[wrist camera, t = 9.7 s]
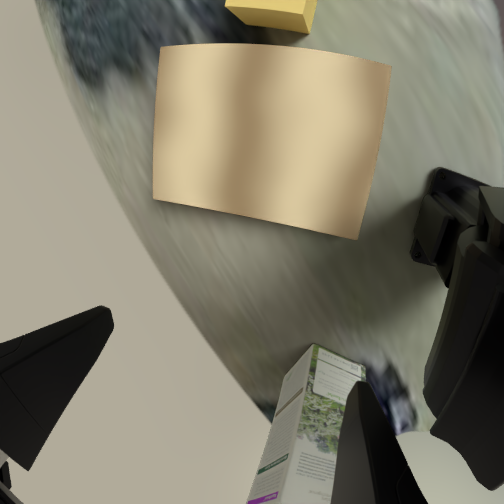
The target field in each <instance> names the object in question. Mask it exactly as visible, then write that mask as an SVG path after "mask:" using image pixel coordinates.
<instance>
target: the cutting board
mask: <svg viewBox="0 0 504 504" xmlns="http://www.w3.org/2000/svg"><path fill="white" fill-rule="evenodd" d="M391 67H392V66H390V65H386V64H382V63H378V62H374V61H370V60H366V59H362V58H357V57H353V56H348V55H343V54H337V53H332V52H326V51H320V50H313V49H305V48H297V47H288V46H277V45H262V44H232V43H222V44H192V45H177V46H166V47H161V50H160V58H159V68H158V78H157V89H156V103H155V119H154V142H153V199H157V200H162V201H168V202H174V203H179V204H185V205H190V206H196V207H201V208H206V209H211V210H217V211H222V212H227V213H232V214H237V215H242V216H247V217H252V218H257V219H262V220H267V221H271V222H276V223H281V224H286V225H290V226H295V227H300V228H304V229H309V230H313V231H318V232H322V233H327V234H331V235H335V236H340V237H344V238H348V239H353V240H357V239H358V235H359V231H360V228H361V224H362V220H363V216H364V212H365V209H366V205H367V200H368V196H369V192H370V188H371V184H372V179H373V175H374V170H375V165H376V161H377V156H378V151H379V146H380V140H381V135H382V129H383V124H384V118H385V112H386V105H387V98H388V91H389V84H390V76H391Z"/></svg>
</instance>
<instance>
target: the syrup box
mask: <svg viewBox="0 0 504 504" xmlns="http://www.w3.org/2000/svg"><path fill="white" fill-rule="evenodd" d="M356 381H365V366H363V365H361V364H359V363H357V362H354V361H352V360H350V359H347V358H345V357H343V356H341V355H338V354H336V353H334V352H332V351H329V350H327V349H325V348H323V347H321V346H319V345H316V344H312V345H311V347H310V348H309V349H308V350H307V351H306V352H305V353H304V354H303V356H302V357H301V358H300V359H299V360H298V361H297V363H296V364H295V365H294V366H293V367H292V368H291V369H290V370H289V372H288V373H287V374H286V375H285V376H284V379H283V383H282V387H281V392H280V397H279V401H278V404H277V408H276V412H275V415H274V419H273V422H272V426H271V429H270V432H269V436H268V439H267V442H266V446H265V449H264V452H263V455H262V458H261V461H260V464H259V467H258V470H257V473H256V476H255V479H254V482H253V485H252V487H251V490H250V494H249V497H248V499H247V502H246V504H330V503H331V496H332V490H333V482H334V475H335V467H336V458H337V449H338V440H339V435H340V430H341V425H342V420H343V415H344V410H345V405H346V400H347V396H348V394H349V392H350V391H351V389H352V387H353V386H354V384H355V382H356Z"/></svg>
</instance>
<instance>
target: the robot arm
mask: <svg viewBox="0 0 504 504" xmlns="http://www.w3.org/2000/svg"><path fill="white" fill-rule="evenodd" d="M441 172H443V173H444V177H443V178H442V179H440V178H439V174H440V173H441ZM414 234H415V239H414V242H413V245H412V248H411V251H410V255H411V258H412V259H413V261H415V262H419V263H423V264H427V265H431V266H435V267H436V269H437V271H438V272H439V274H440V276H441V278H442V280H443V282H444V284H445V286H446V287H447V288H449V289H448V293H447V297H446V301H445V305H444V309H443V313H442V316H441V320H440V323H439V327H438V330H437V333H436V337H435V340H434V343H433V346H432V349H431V352H430V355H429V357H428V360H427V363H426V366H425V373H424V388H423V395H424V398H425V401H426V404H427V405H428V407H429V408H430V410H431V412H432V413H433V415H434V416H435V417H436V418H437V420H436V421H435V423H434V425H433V426H432V428H431V429H430V434H431V435H433V436H435V437H437V438H439V439H441V440H443V441H445V442H447V443H449V444H450V445H451V446H452V447H453V448H455V449H456V450H457V451H458V452H459V453H460V454H461V455H462V457H463V458H464V460H465V461H466V462H467V464H468V466H469V468H470V469H471V471H472V473H473V475H474V476H475V478H476V480H477V481H478V482H479V483H480V484H482V485H483V486H484V487H486V488H487V489H488V490H491V491H493V490H495V489H497V488H498V487H500V486H501V485H502V484H504V188H500V187H492V186H490V185H487V184H485V183H482V182H480V181H478V180H475V179H473V178H470V177H468V176H465V175H462V174H460V173H457V172H454V171H452V170H449V169H446V168H443V167H438V168H437V169H435V171H434V175H433V179H432V182H431V186H430V190H429V194H427V195H426V196H425V197H424V199H423V202H422V206H421V209H420V212H419V216H418V219H417V222H416V225H415V228H414ZM416 252H420V254H419V255H418V256H415V253H416ZM113 329H114V322H113V318H112V313H111V310H110V309H109V308H107V307H105V306H97V307H95V308H92V309H90V310H87V311H84V312H82V313H79V314H77V315H74V316H72V317H69V318H66V319H64V320H61V321H59V322H56V323H53V324H51V325H48V326H46V327H43V328H40V329H38V330H35V331H33V332H30V333H28V334H25V335H22V336H20V337H17V338H14V339H12V340H9V341H6V342H3V343H0V504H23V503H22V502H21V501H20V500H19V499H18V498H17V497H16V496H15V495H14V494H13V493H12V492H11V491H10V488H11V480H10V474H9V466H8V462H7V461H6V460H7V458H8V457H10V458H11V459H13V460H14V461H15V462H16V463H18V464H19V465H20V466H22V467H23V468H24V469H26V470H27V471H29V470H30V468H31V467H32V465H33V463H34V461H35V459H36V457H37V456H38V454H39V452H40V450H41V448H42V447H43V445H44V443H45V441H46V440H47V438H48V437H49V435H50V433H51V431H52V429H53V428H54V426H55V425H56V423H57V421H58V419H59V418H60V416H61V415H62V413H63V411H64V410H65V408H66V407H67V405H68V403H69V402H70V400H71V399H72V397H73V395H74V394H75V392H76V391H77V389H78V388H79V386H80V384H81V383H82V382H83V380H84V378H85V377H86V376H87V374H88V372H89V371H90V370H91V368H92V366H93V365H94V363H95V362H96V360H97V359H98V357H99V355H100V353H101V351H102V350H103V348H104V346H105V344H106V342H107V340H108V338H109V336H110V335H111V333H112V331H113ZM330 504H428V502H427V501H426V499H425V497H424V496H423V494H422V492H421V490H420V488H419V487H418V485H417V482H416V480H415V478H414V476H413V474H412V472H411V469H410V467H409V466H408V463H407V461H406V459H405V456H404V454H403V452H402V450H401V448H400V446H399V443H398V441H397V439H396V437H395V435H394V433H393V431H392V428H391V426H390V424H389V422H388V420H387V418H386V416H385V414H384V412H383V410H382V408H381V406H380V404H379V401H378V399H377V397H376V395H375V393H374V391H373V389H372V387H371V385H370V384H369V383H368V382H365V381H356V382H355V384H354V386H353V387H352V389H351V391H350V392H349V394H348V396H347V400H346V405H345V410H344V415H343V420H342V425H341V430H340V435H339V440H338V449H337V458H336V467H335V475H334V482H333V490H332V496H331V503H330Z"/></svg>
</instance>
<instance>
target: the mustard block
mask: <svg viewBox="0 0 504 504" xmlns="http://www.w3.org/2000/svg"><path fill="white" fill-rule="evenodd" d="M316 4H317V0H226V3H225V7H226V8H227V9H229V10H230V11H231V12H232V13H233V14H235V15H236V16H237V17H238V18H239V19H240V20H241V21H243V22H244V23H245V24H246V25H254V26H263V27H270V28H277V29H284V30H290V31H296V32H301V33H306V34H310V30H311V26H312V22H313V17H314V13H315V9H316Z"/></svg>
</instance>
